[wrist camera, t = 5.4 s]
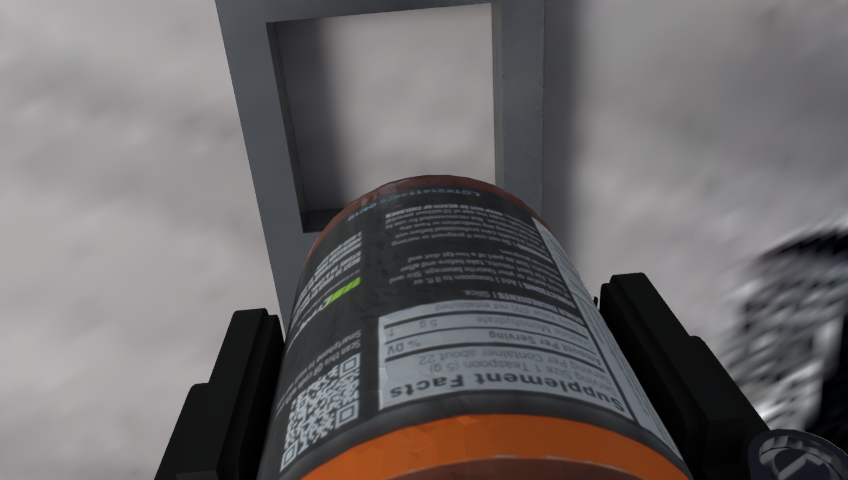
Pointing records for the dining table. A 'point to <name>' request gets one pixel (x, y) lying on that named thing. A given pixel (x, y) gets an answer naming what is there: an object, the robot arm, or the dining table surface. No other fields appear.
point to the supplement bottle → (454, 352)
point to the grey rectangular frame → (273, 133)
